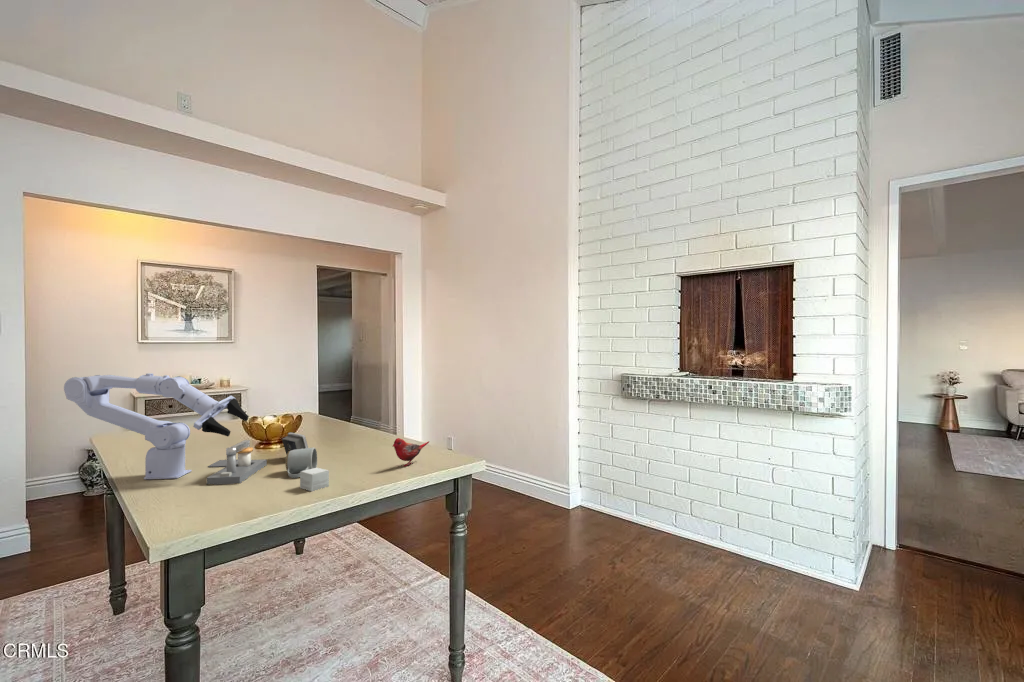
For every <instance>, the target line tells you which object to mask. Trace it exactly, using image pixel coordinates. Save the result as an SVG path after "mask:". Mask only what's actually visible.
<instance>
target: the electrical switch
mask: <svg viewBox="0 0 1024 682" xmlns="http://www.w3.org/2000/svg"><path fill="white" fill-rule="evenodd" d="M281 441H282V444H283V448H284V451H285V456H286V455H287V453H288V452H289V451H291V450H296V449H305V448H309V445H308V442H307V438H306V435H304V434H301V433H295V432H288V433H287V435H286V436H285V437H283V438H281Z"/></svg>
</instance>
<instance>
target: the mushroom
mask: <svg viewBox="0 0 1024 682" xmlns="http://www.w3.org/2000/svg"><path fill="white" fill-rule="evenodd" d="M253 451H254V447H252V446H251V447H250V446H249V447H247V448H245V449H243V450H242V451H240V452H238V453H237V460H238V467H243V466H250V465H251V460H252V452H253Z"/></svg>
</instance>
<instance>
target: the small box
mask: <svg viewBox="0 0 1024 682" xmlns="http://www.w3.org/2000/svg"><path fill="white" fill-rule="evenodd" d="M299 480H300V481H299V489H302V490H305V489H306V491H309V492H315V490H316V491H319V490H322V489H325V487H326V488H328V487H330V469H329V470H328V469H325V468H320V467H317V468H313V469H309V470H304V471H301V472H300V478H299ZM321 488H322V489H321ZM318 489H319V490H318Z"/></svg>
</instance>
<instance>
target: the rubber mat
mask: <svg viewBox="0 0 1024 682" xmlns="http://www.w3.org/2000/svg"><path fill="white" fill-rule="evenodd" d="M237 460H238V459H236V461H237ZM225 467H227V459H218V460H217V461H214V462H213V463H212V464H210V465H207V468H225Z"/></svg>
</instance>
